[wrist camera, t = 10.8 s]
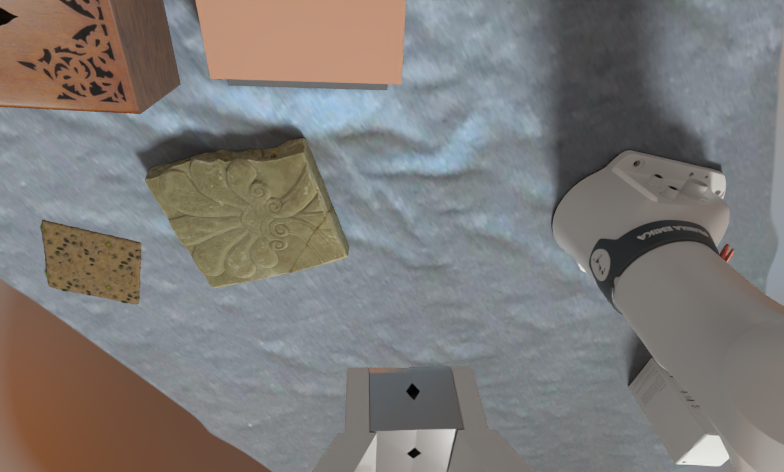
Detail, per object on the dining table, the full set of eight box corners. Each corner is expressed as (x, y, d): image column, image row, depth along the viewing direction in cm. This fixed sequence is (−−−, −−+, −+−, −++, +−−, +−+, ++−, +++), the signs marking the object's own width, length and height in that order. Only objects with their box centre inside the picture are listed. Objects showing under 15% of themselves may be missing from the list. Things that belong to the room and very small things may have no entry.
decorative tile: (350, 248, 59) (349, 263, 56) (217, 277, 61) (209, 294, 58) (305, 122, 49) (301, 133, 46) (145, 162, 50) (132, 175, 47)
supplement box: (667, 390, 82) (720, 468, 70) (626, 386, 81) (673, 465, 69) (694, 359, 77) (757, 438, 65) (651, 355, 76) (707, 435, 64)
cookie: (143, 240, 56) (140, 244, 56) (141, 303, 63) (138, 307, 62) (42, 216, 54) (37, 220, 53) (50, 285, 60) (46, 289, 59)
